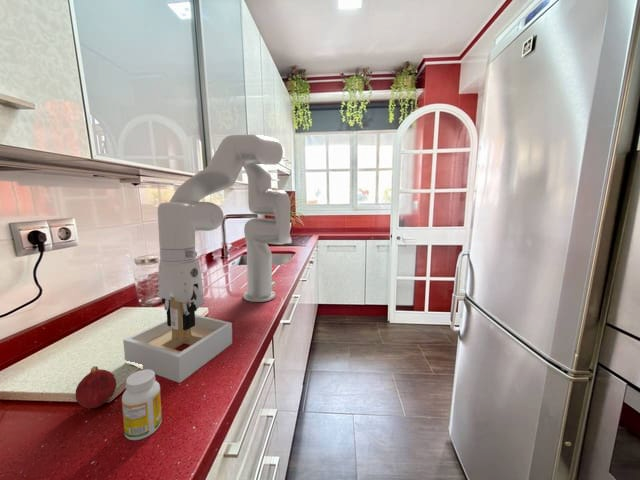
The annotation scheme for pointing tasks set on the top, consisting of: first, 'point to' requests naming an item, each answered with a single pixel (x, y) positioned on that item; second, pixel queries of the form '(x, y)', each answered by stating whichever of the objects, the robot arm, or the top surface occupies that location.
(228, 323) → the open box
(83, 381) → the onion
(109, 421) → the top surface
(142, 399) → the supplement bottle
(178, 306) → the sprinkles bottle
